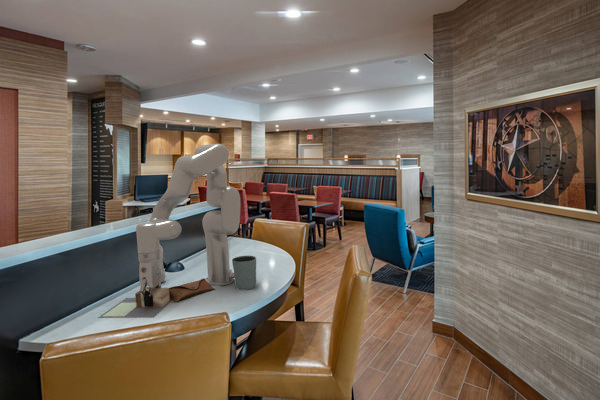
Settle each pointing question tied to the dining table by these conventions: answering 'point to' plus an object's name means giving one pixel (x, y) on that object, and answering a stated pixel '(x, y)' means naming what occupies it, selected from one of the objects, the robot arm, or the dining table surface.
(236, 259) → the grey cup
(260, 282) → the dining table surface
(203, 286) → the sunglasses case
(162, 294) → the card box
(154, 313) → the mat
